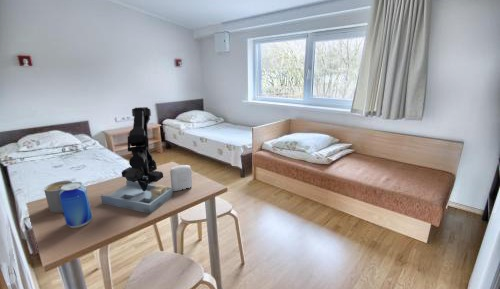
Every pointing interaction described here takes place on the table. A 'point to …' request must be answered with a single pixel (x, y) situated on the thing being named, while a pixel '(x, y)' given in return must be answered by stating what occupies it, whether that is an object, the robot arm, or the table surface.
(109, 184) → the table surface
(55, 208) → the coffee mug
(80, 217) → the beer can
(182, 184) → the photo printer
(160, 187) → the beech block
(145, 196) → the box
